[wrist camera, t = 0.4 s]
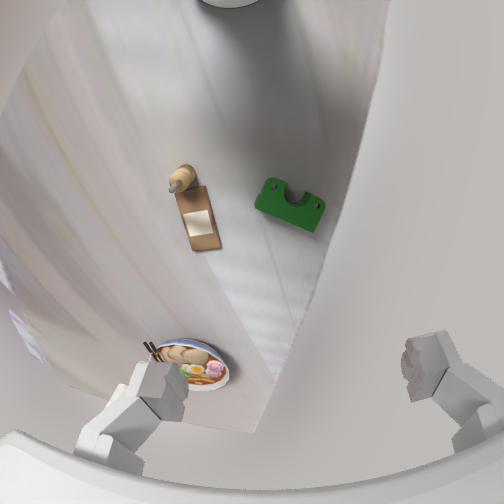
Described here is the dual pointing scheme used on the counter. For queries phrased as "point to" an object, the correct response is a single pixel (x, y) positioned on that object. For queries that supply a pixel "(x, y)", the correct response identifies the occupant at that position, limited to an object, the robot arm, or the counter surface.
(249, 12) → the counter surface
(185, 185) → the awl
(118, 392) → the foam cup
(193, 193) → the bandage strip
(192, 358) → the ramen bowl
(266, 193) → the clamp
